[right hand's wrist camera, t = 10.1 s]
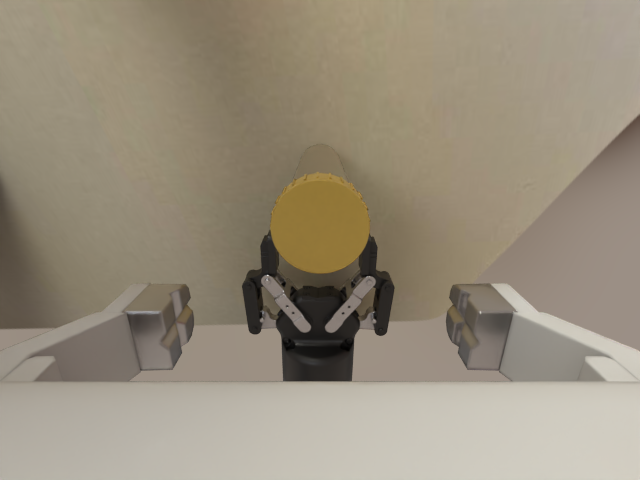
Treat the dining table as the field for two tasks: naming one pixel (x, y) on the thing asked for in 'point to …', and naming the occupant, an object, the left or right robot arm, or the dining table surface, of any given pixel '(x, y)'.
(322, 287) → the left robot arm
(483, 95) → the dining table surface
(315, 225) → the lid
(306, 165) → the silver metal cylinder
